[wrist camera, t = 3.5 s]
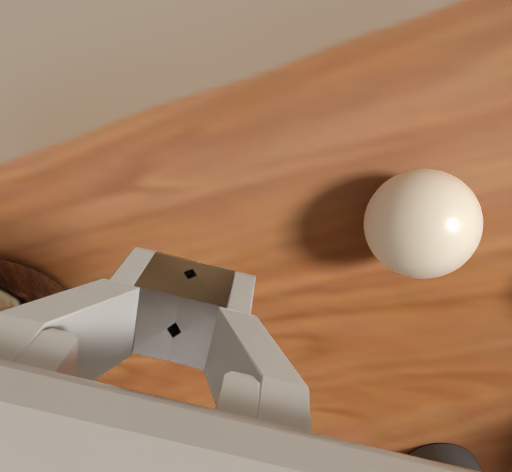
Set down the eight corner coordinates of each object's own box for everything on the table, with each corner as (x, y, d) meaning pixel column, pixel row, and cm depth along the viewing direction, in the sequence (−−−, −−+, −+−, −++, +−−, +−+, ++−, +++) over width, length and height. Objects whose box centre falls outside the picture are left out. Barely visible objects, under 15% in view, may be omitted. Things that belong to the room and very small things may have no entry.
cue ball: (430, 257, 24) (469, 312, 19) (342, 235, 23) (358, 284, 18) (474, 171, 21) (531, 207, 16) (376, 145, 21) (404, 174, 16)
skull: (-128, 305, 27) (-193, 344, 18) (18, 224, 32) (21, 225, 23) (-12, 424, 31) (-21, 503, 22) (104, 337, 35) (134, 374, 27)
